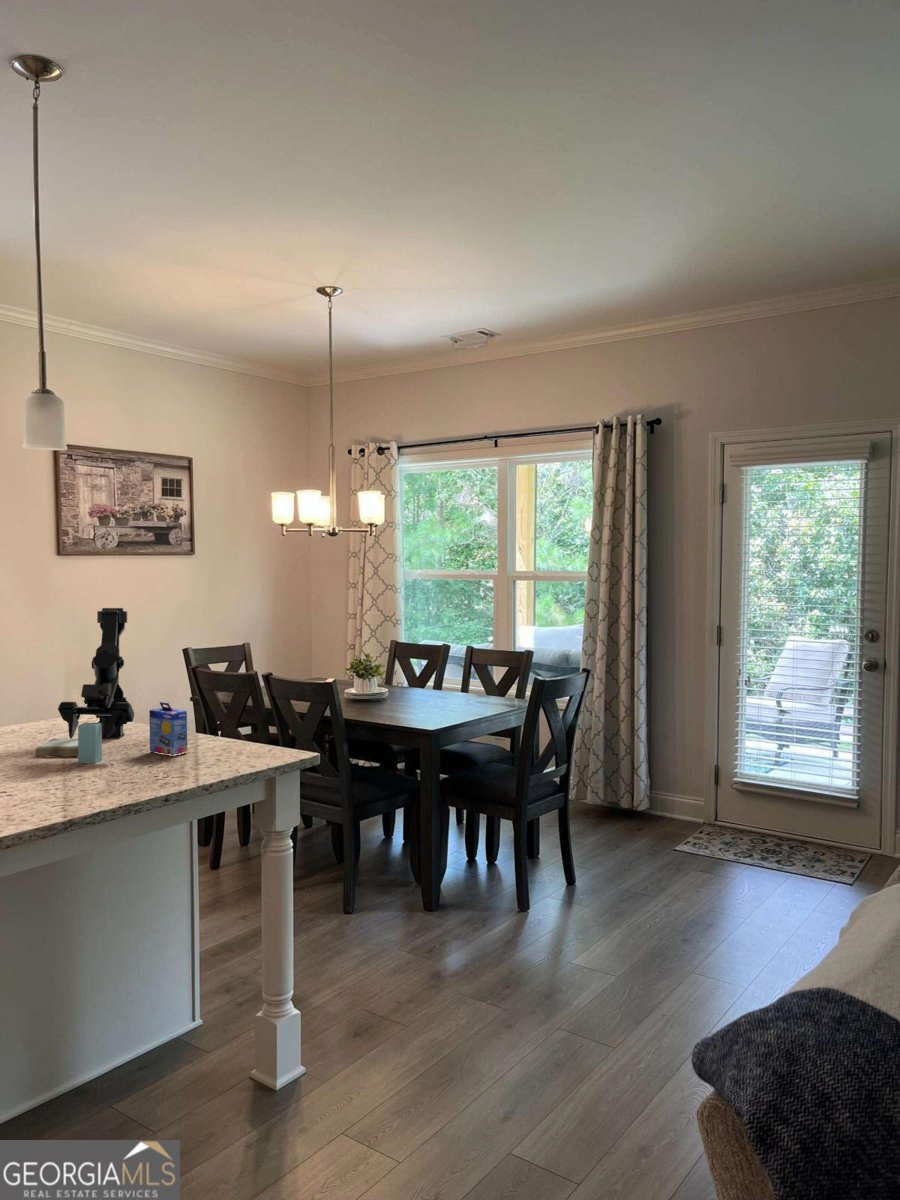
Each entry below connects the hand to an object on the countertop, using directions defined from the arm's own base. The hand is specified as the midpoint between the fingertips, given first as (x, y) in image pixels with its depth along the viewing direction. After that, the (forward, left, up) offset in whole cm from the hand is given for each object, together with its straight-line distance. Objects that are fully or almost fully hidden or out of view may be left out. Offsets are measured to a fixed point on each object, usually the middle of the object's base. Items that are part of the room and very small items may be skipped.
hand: (88, 737), depth 229 cm
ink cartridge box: (-18, -11, -7) cm, 23 cm away
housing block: (0, -1, -7) cm, 7 cm away
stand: (+10, -13, -7) cm, 18 cm away
